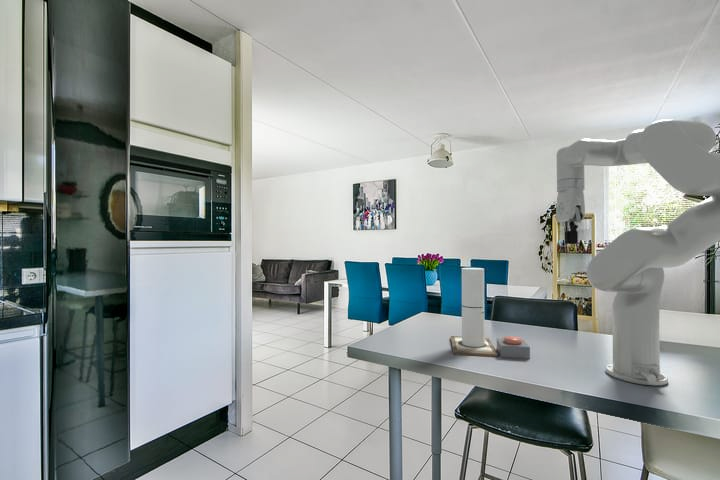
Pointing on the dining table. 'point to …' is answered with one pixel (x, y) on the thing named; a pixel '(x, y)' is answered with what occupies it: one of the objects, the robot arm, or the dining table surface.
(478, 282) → the cylindrical container
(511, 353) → the button housing
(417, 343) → the dining table surface
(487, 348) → the sketch board
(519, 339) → the button
